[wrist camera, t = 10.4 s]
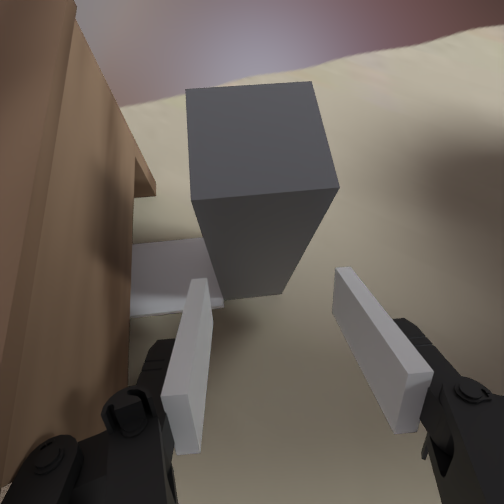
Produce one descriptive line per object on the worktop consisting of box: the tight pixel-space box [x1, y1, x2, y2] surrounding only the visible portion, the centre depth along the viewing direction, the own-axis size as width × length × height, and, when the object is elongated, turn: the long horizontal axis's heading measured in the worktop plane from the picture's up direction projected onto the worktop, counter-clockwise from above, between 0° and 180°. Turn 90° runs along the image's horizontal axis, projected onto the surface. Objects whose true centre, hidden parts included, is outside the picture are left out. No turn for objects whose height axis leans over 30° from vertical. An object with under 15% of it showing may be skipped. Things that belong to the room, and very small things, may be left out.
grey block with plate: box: [130, 81, 340, 318], centre depth 14 cm, size 16×5×13 cm, turn 97°
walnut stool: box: [0, 0, 156, 492], centre depth 14 cm, size 6×16×13 cm, turn 7°
